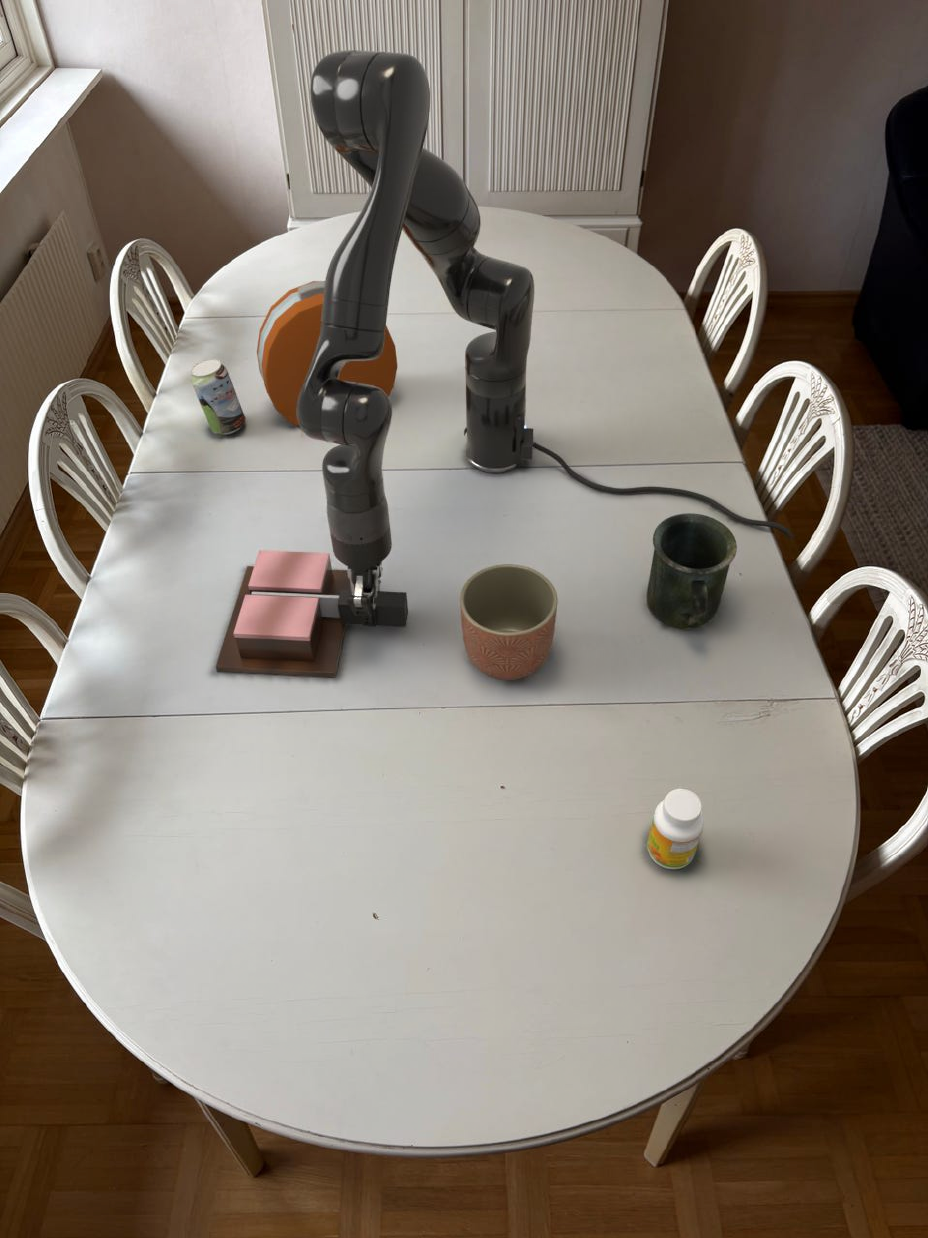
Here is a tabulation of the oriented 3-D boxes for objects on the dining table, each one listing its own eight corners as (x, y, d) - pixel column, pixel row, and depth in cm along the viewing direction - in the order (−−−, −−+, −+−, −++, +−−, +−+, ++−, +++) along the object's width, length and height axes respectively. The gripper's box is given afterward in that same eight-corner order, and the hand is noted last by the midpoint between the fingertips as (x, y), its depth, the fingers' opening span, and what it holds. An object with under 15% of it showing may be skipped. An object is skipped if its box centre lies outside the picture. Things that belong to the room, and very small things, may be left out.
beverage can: (239, 441, 166) (225, 379, 157) (198, 436, 167) (181, 375, 158) (252, 418, 170) (239, 357, 161) (211, 413, 171) (196, 353, 162)
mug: (714, 574, 143) (729, 511, 134) (731, 652, 133) (749, 590, 125) (638, 575, 143) (648, 512, 134) (650, 652, 134) (662, 591, 125)
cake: (356, 575, 144) (352, 545, 140) (335, 677, 132) (329, 648, 127) (248, 570, 146) (240, 540, 141) (216, 671, 133) (207, 642, 128)
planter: (447, 636, 136) (444, 580, 128) (529, 608, 139) (531, 552, 131) (484, 702, 129) (483, 647, 120) (569, 671, 132) (575, 616, 124)
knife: (408, 612, 138) (406, 592, 135) (406, 627, 136) (404, 607, 133) (258, 605, 139) (253, 585, 136) (254, 620, 137) (249, 600, 134)
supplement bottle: (642, 830, 116) (652, 784, 108) (688, 826, 116) (701, 780, 109) (652, 872, 112) (663, 828, 105) (699, 868, 112) (714, 824, 105)
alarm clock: (386, 374, 178) (375, 254, 161) (401, 405, 172) (392, 284, 155) (264, 399, 174) (240, 279, 157) (275, 432, 167) (251, 310, 151)
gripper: (381, 562, 119) (392, 655, 132) (396, 485, 128) (404, 579, 141) (319, 560, 119) (335, 653, 132) (338, 483, 129) (352, 577, 141)
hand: (371, 614), depth 136 cm, fingers closed on knife, 3 cm apart
